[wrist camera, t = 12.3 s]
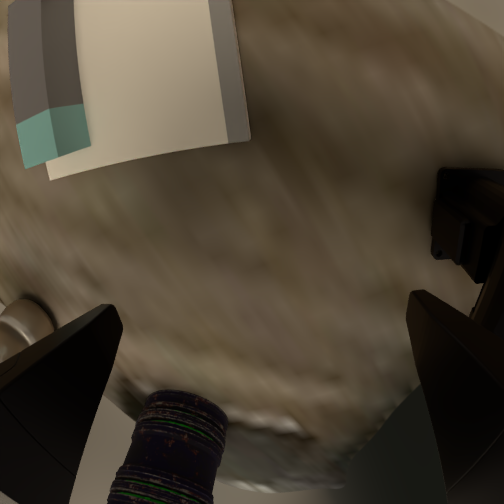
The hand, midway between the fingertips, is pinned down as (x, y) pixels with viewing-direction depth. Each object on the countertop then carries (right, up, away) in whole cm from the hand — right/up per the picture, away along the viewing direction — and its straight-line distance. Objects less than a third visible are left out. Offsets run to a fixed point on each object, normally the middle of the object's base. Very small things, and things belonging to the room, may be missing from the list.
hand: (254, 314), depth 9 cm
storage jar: (-7, -17, +23) cm, 29 cm away
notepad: (-8, +14, +7) cm, 18 cm away
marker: (-13, +14, +7) cm, 20 cm away
